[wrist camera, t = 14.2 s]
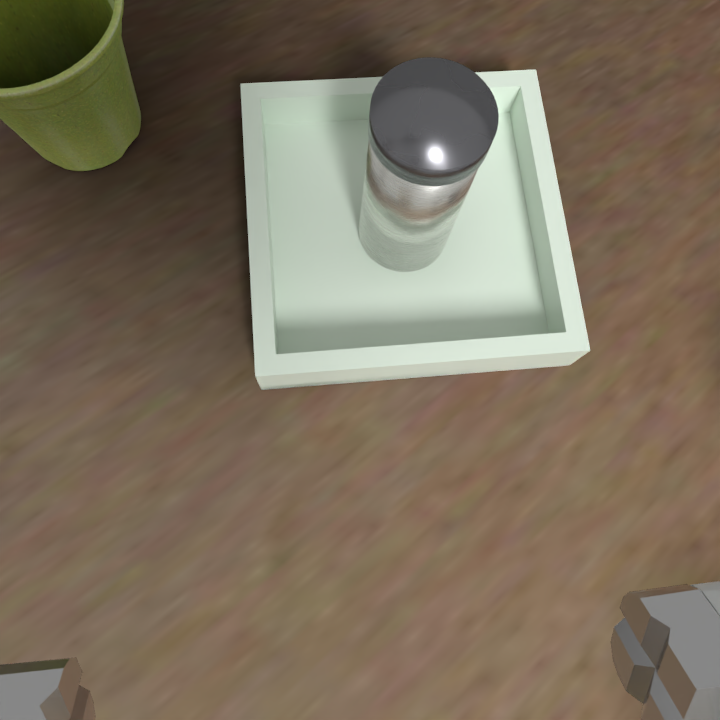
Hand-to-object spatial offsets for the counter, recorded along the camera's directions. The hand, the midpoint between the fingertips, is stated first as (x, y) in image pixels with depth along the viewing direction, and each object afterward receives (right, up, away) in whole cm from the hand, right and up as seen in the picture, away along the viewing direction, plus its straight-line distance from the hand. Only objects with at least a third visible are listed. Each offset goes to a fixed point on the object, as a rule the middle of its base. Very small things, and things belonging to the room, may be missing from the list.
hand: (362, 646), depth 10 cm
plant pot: (-15, +17, +26) cm, 35 cm away
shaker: (+2, +11, +25) cm, 27 cm away
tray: (+2, +11, +25) cm, 28 cm away
